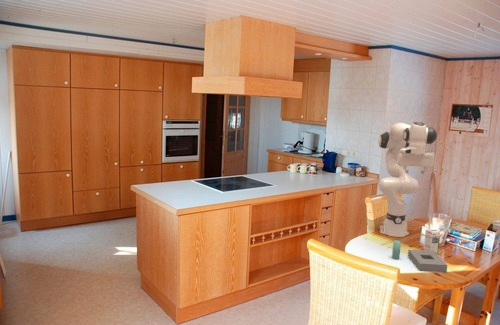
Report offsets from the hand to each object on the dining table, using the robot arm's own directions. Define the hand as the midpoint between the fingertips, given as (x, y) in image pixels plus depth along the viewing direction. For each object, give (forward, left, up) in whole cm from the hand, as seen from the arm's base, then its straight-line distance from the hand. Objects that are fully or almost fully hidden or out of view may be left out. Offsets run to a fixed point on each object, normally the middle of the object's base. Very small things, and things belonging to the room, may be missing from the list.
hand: (414, 173), depth 230 cm
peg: (+13, -11, -47) cm, 50 cm away
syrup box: (+3, +12, -48) cm, 49 cm away
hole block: (+19, +4, -47) cm, 51 cm away
